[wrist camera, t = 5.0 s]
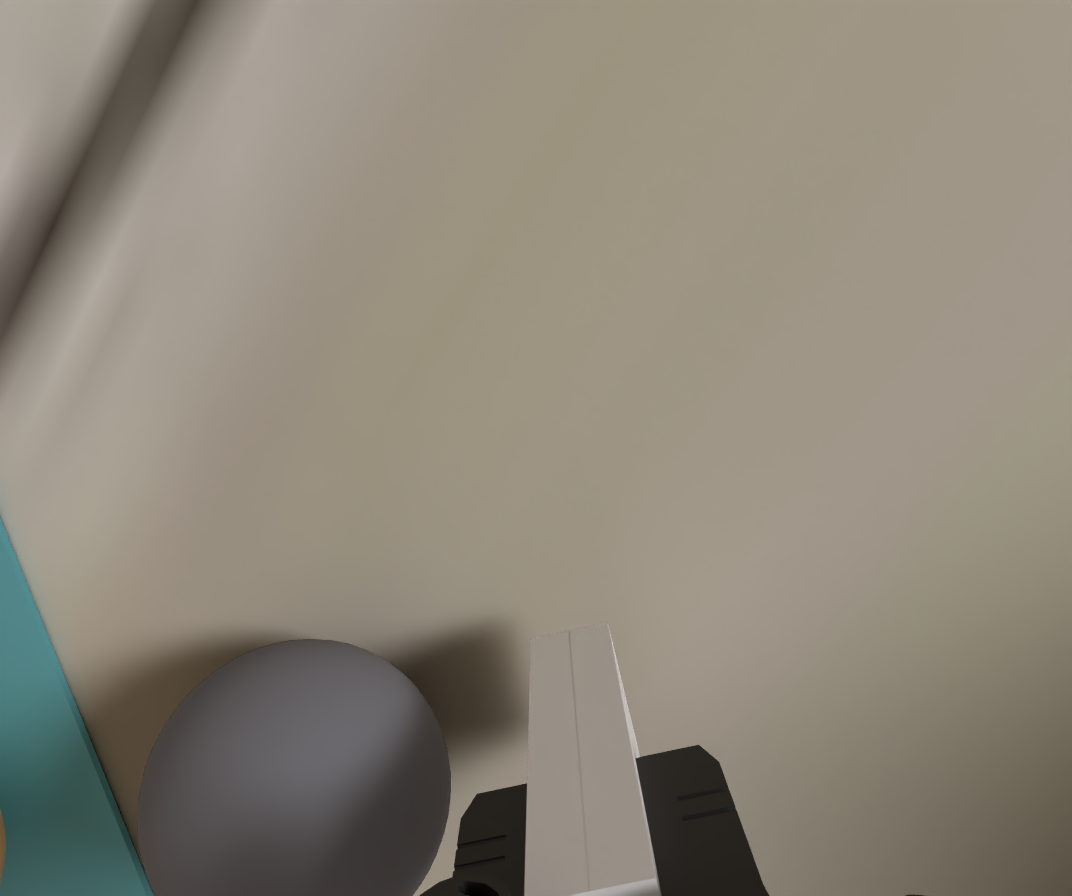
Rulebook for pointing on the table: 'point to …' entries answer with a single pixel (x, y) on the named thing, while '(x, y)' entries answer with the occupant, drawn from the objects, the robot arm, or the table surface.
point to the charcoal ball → (296, 779)
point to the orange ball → (2, 845)
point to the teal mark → (51, 768)
